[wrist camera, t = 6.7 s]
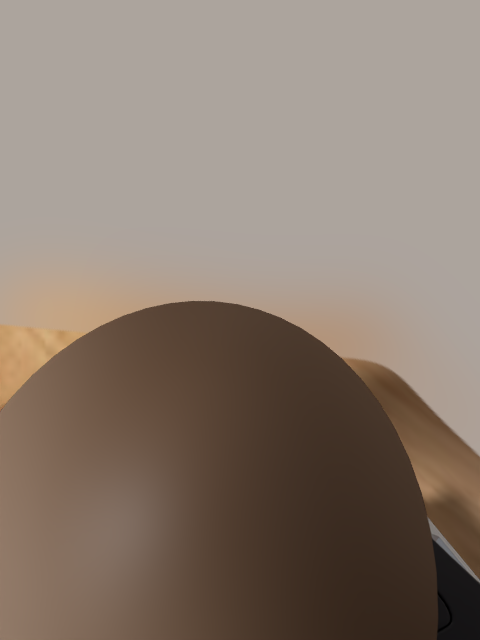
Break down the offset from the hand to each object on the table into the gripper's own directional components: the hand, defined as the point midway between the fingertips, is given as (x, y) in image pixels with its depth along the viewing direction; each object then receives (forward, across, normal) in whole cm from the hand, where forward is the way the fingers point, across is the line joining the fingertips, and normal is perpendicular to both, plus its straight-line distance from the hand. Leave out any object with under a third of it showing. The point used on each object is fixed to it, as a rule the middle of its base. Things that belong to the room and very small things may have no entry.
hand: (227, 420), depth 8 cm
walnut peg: (+4, 0, +6) cm, 7 cm away
